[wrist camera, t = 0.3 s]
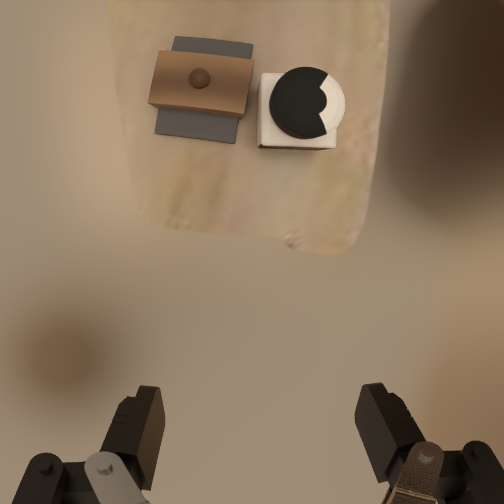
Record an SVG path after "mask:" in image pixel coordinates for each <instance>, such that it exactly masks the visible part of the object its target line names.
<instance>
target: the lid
mask: <svg viewBox="0 0 504 504" xmlns="http://www.w3.org/2000/svg"><path fill="white" fill-rule="evenodd" d="M253 64H254V60H250V59H243V58H236V57H229V56H221V55H212V54H203V53H192V52H178V51H159V54H158V58H157V62H156V67H155V71H154V75H153V80H152V85H151V89H150V94H149V99H148V103H149V104H151V105H152V106H154V107H158V108H170V109H180V110H190V111H198V112H206V113H214V114H221V115H228V116H235V117H241V118H244V112H245V107H246V102H247V96H248V91H249V86H250V80H251V75H252V70H253Z"/></svg>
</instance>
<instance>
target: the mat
mask: <svg viewBox="0 0 504 504" xmlns="http://www.w3.org/2000/svg"><path fill="white" fill-rule="evenodd" d="M252 48H253V44H247V43H240V42H233V41H225V40H216V39H206V38H195V37H180V36H175V38H174V42H173V46H172V50H171V51H178V52H192V53H203V54H212V55H221V56H229V57H236V58H243V59H250V58H251V53H252ZM238 121H239V117H235V116H228V115H221V114H214V113H206V112H198V111H190V110H180V109H170V108H159V111H158V116H157V122H156V127H155V134H162V135H171V136H180V137H188V138H196V139H204V140H211V141H218V142H225V143H232V144H234V143H235V138H236V132H237V126H238Z"/></svg>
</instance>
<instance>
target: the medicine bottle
mask: <svg viewBox="0 0 504 504" xmlns="http://www.w3.org/2000/svg"><path fill="white" fill-rule="evenodd" d="M344 113H345V98H344V94H343V91H342V89H341V87H340V86H339V84H338V83H337V81H336V80H335V78H333V77H332V76H330V75H329V74H328V73H326V72H324V71H322V70H320V69H316V68H312V67H299V68H295V69H292V70H290V71H288V72H287V73H263V74H262V75H261V79H260V82H259V86H258V90H257V147H258V148H261V149H299V150H323V149H332V148H335V147H336V127H337V126H338V125H339V124H340V122H341V120H342V118H343V116H344Z"/></svg>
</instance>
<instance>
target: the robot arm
mask: <svg viewBox="0 0 504 504" xmlns="http://www.w3.org/2000/svg"><path fill="white" fill-rule="evenodd" d="M355 423H356V426H357V429H358V431H359V434H360V437H361V439H362V442H363V444H364V447H365V449H366V452H367V455H368V457H369V460H370V462H371V465H372V468H373V470H374V473H375V476H376V478H377V481H378V483H381V482H385V481H388V482H389V485H390V486H389V488H388V490H387V492H386V494H385V497H384V499H383V501H382V503H381V504H436V499H437V502H438V504H504V470H503V468H502V466H501V464H500V463H499V461H498V460H497V458H496V456H495V455H494V453H493V451H492V450H491V448H490V447H489V446H488V445H487V444H485V443H484V442H481V441H471V442H469V443H467V444H466V445H465V446H464V448H463V449H462V450H460V451H443V450H442V449H441V447H440V446H438V445H437V444H435V443H433V442H429V441H426V440H425V438H424V436H423V434H422V433H421V431H420V429H419V427H418V426H417V424H416V422H415V421H414V419H413V417H411V414H410V412H409V410H407V407H406V405H405V404H404V402H403V400H402V399H401V398H399V397H398V396H397V395H396V394H394V393H388V392H387V390H386V388H385V387H384V385H383V384H382V383H372V384H365V385H363V386H362V389H361V392H360V396H359V399H358V403H357V406H356V410H355ZM164 428H165V412H164V407H163V402H162V397H161V391H160V388H159V387H154V386H142V385H141V386H140V387H139V389H138V391H137V394H136V397H129V396H127V398H125V399H124V400H123V401H122V402H121V403H120V404H119V405H118V408H117V410H116V413H115V416H114V417H113V420H112V423H111V425H110V427H109V430H108V432H107V434H106V438H105V440H104V442H103V444H102V447H101V450H100V451H99V452H97V453H95V454H93V455H91V456H90V457H89V458H88V459H87V460H86V461H84V462H67V463H62V461H61V460H60V458H59V457H58V456H56V455H54V454H51V453H41V454H38V455H36V456H34V457H33V458H32V459H31V461H30V462H29V464H28V467H27V469H26V471H25V473H24V476H23V478H22V480H21V482H20V485H19V487H18V490H17V492H16V495H15V497H14V499H13V502H12V504H150V503H149V502H148V501H147V500H146V499H145V498H144V496H143V494H142V493H141V491H142V489H143V490H149V491H150V490H151V486H152V481H153V477H154V472H155V468H156V463H157V459H158V454H159V450H160V445H161V441H162V437H163V432H164Z"/></svg>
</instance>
